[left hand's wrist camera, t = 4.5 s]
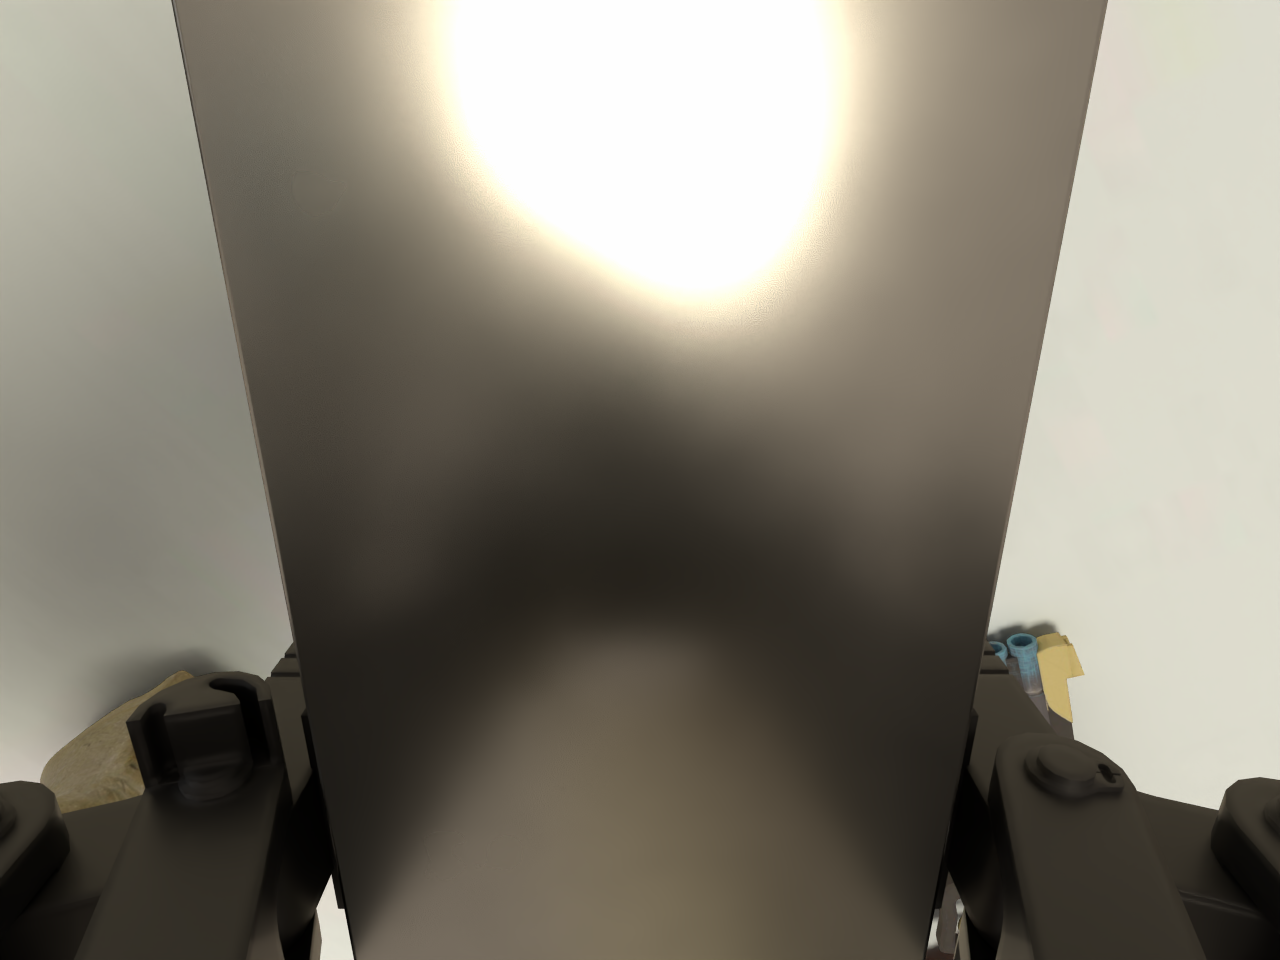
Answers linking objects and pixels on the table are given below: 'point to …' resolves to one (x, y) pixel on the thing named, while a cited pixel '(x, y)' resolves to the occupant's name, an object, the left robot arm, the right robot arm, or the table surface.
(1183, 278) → the table surface
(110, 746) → the sculpture
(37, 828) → the left robot arm
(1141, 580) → the table surface
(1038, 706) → the toy gun
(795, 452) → the bar
